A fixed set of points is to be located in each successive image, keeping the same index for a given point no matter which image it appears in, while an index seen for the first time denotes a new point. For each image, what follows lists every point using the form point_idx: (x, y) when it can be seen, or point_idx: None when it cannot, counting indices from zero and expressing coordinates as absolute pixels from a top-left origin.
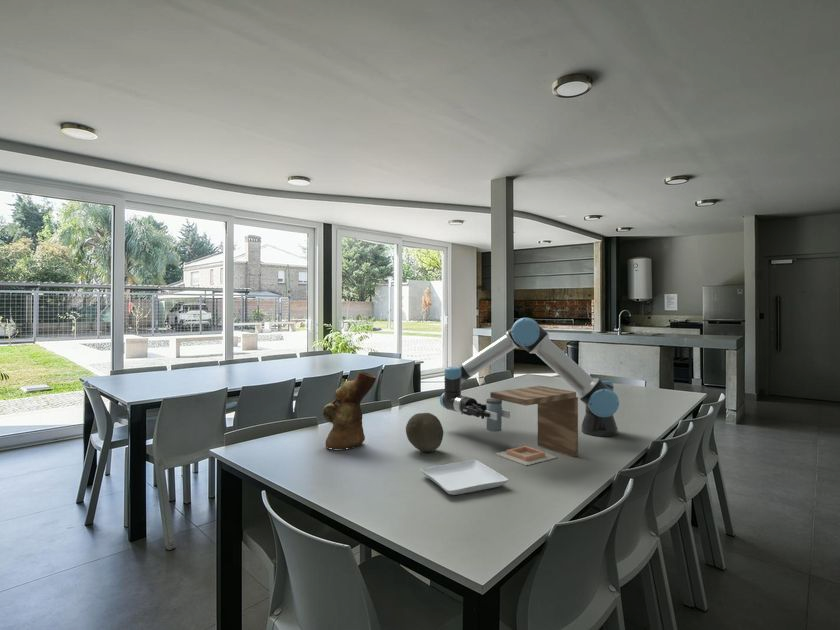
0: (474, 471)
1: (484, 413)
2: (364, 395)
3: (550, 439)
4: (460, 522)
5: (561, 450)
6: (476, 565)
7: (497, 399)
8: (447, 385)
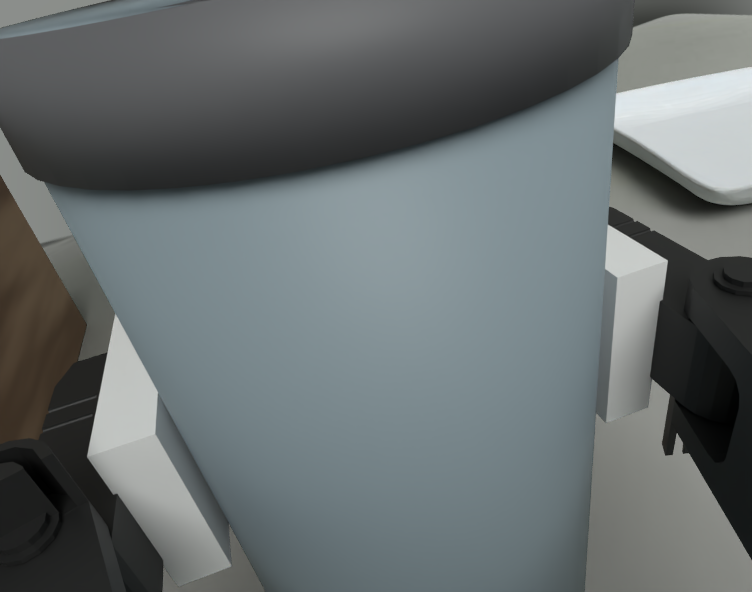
0: (709, 179)
1: (674, 256)
2: None
3: (12, 391)
4: (724, 54)
5: (63, 369)
6: (680, 21)
7: (107, 7)
8: None
